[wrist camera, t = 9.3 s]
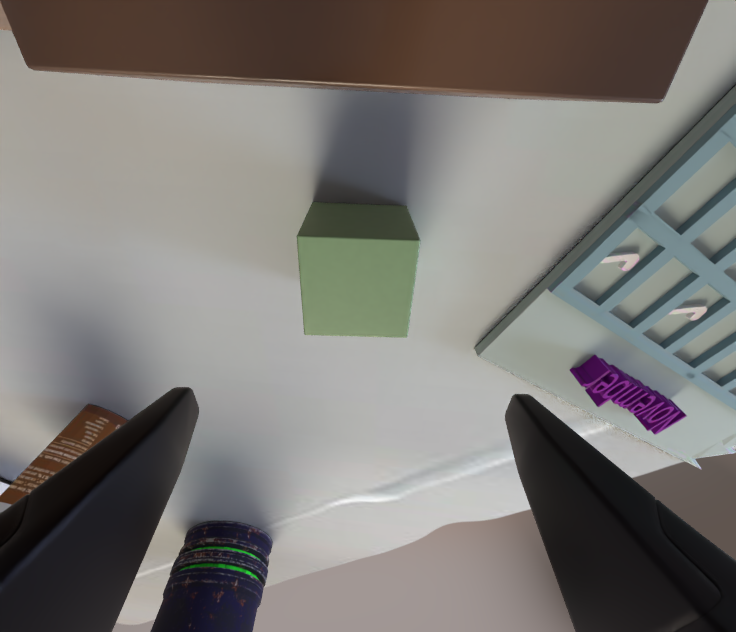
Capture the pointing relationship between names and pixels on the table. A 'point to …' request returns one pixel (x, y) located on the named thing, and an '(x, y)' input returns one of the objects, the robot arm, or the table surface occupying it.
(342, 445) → the table surface
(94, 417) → the food container
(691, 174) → the calendar
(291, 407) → the table surface
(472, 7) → the cabinet
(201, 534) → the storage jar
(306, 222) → the block
